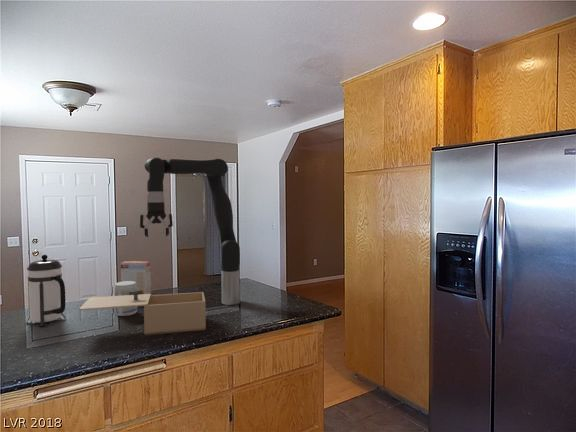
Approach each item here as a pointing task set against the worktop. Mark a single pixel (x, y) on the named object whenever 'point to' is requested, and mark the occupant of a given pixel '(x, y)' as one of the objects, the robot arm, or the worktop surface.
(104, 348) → the worktop surface
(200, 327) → the carton
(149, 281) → the cracker box
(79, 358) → the worktop surface
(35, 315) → the coffee press
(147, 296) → the carton lid
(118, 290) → the supplement tub
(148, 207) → the robot arm
